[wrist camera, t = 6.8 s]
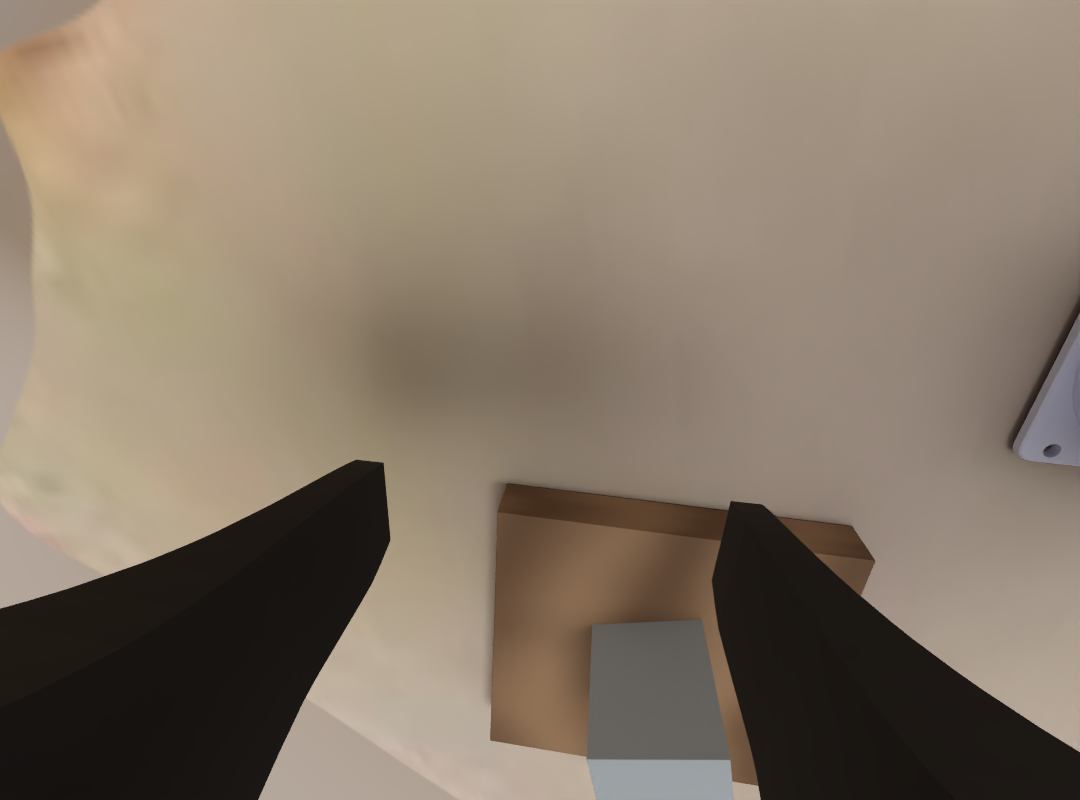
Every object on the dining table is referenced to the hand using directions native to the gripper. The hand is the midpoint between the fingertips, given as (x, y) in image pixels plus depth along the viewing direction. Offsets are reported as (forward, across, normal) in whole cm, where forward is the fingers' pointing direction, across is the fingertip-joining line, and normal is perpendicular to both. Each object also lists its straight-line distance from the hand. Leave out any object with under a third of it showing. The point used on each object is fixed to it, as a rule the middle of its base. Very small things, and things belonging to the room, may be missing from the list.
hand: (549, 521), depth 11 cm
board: (+9, -4, +13) cm, 16 cm away
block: (+7, -4, +12) cm, 15 cm away
